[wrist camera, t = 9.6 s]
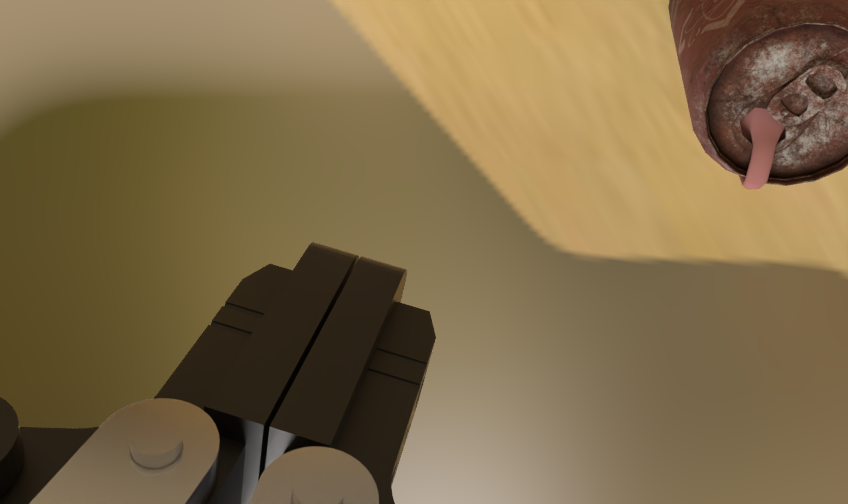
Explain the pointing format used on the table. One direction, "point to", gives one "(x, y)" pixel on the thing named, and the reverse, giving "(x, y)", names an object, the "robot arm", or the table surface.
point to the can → (766, 85)
